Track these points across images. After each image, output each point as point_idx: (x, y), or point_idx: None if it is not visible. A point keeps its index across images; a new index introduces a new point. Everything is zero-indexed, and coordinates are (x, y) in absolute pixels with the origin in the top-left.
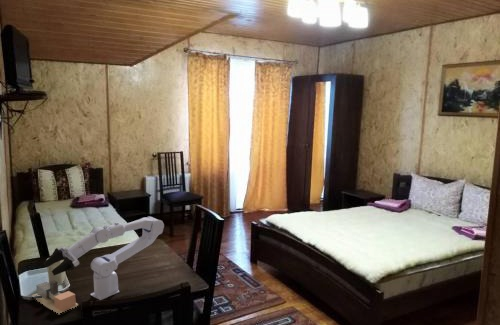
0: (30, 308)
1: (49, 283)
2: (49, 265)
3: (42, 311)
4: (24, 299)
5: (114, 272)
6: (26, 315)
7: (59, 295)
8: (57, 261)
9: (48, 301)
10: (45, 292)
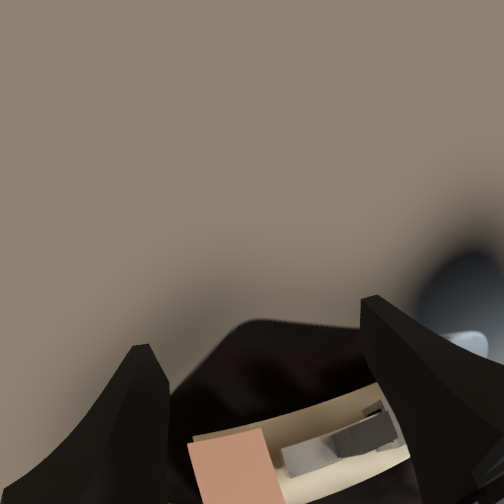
0: (333, 352)
1: None
2: (372, 365)
3: (274, 389)
4: None
5: None
6: (278, 332)
7: (254, 454)
8: (407, 446)
9: (339, 418)
10: (377, 401)
